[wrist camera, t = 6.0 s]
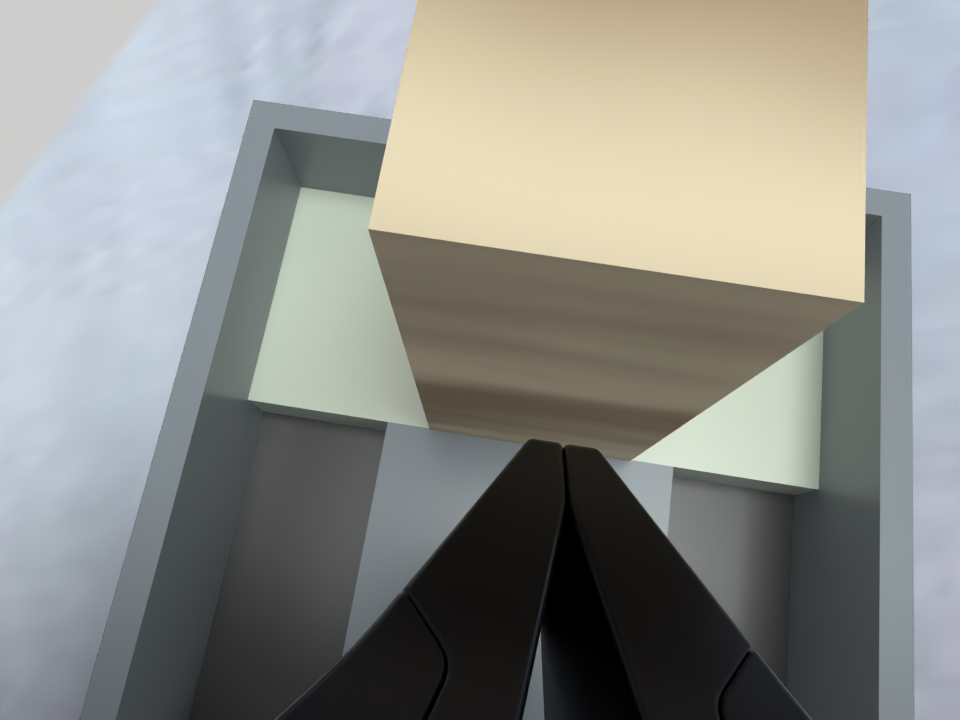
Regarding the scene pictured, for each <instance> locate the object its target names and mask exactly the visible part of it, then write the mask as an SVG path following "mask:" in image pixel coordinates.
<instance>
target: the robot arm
mask: <svg viewBox="0 0 960 720" xmlns="http://www.w3.org/2000/svg"><path fill="white" fill-rule="evenodd" d="M540 632H541V657H542V678H543V699H544V720H812V719H811V717H810V716H809V715H808V714H807V713H806V711H805V710H804V709H803V708H802V707H801V705H800V704H799V703H798V702H797V700H796V699H795V698H794V697H793V696H792V694H791V693H790V692H789V691H788V690H787V688H786V687H785V686H784V685H783V683H782V682H781V681H780V680H779V679H778V677H777V676H776V675H775V673H774V672H773V671H772V670H771V668H770V667H769V666H768V665H767V663H766V662H765V661H764V659H763V658H762V657H761V656H760V654H759V653H758V652H757V651H754V650H753V651H751V650H752V645H751V643H750V642H749V641H748V640H747V638H746V637H745V636H744V634H743V633H742V632H741V631H740V629H739V628H738V627H737V625H736V624H735V623H734V622H733V620H732V619H731V618H730V617H729V615H728V614H727V613H726V611H725V610H724V609H723V608H722V606H721V605H720V604H719V603H718V601H717V600H716V599H715V597H714V596H713V595H712V594H711V592H710V591H709V590H708V589H707V587H706V586H705V585H704V583H703V582H702V581H701V580H700V578H699V577H698V576H697V574H696V573H695V572H694V571H693V569H692V568H691V567H690V566H689V564H688V563H687V562H686V560H685V559H684V558H683V557H682V555H681V554H680V553H679V552H678V550H677V549H676V548H675V546H674V545H673V544H672V543H671V541H670V540H669V539H668V538H667V536H666V535H665V534H664V532H663V531H662V530H661V529H660V527H659V526H658V525H657V523H656V522H655V521H654V520H653V518H652V517H651V516H650V515H649V513H648V512H647V511H646V509H645V508H644V507H643V506H642V504H641V503H640V502H639V501H638V499H637V498H636V497H635V495H634V494H633V493H632V492H631V490H630V489H629V488H628V487H627V485H626V484H625V483H624V481H623V480H622V479H621V478H620V476H619V475H618V474H617V472H616V471H615V470H614V469H613V467H612V466H611V465H610V464H609V462H608V461H607V460H606V458H605V457H604V456H603V455H602V453H601V452H600V451H599V450H597V449H595V448H590V447H584V446H577V445H571V444H568V445H565V446H564V447H562V445H561V444H560V443H557V442H551V441H545V440H539V439H529V440H528V441H527V442H526V443H525V444H524V445H523V446H522V447H521V449H520V450H519V451H518V452H517V453H516V454H515V456H514V457H513V458H512V459H511V460H510V462H509V463H508V464H507V465H506V466H505V468H504V469H503V470H502V471H501V472H500V474H499V475H498V476H497V477H496V478H495V480H494V481H493V482H492V483H491V484H490V486H489V487H488V488H487V489H486V490H485V492H484V493H483V494H482V495H481V496H480V498H479V499H478V500H477V501H476V502H475V504H474V505H473V506H472V507H471V508H470V509H469V511H468V512H467V513H466V514H465V515H464V517H463V518H462V519H461V520H460V521H459V523H458V524H457V525H456V526H455V527H454V529H453V530H452V531H451V532H450V533H449V535H448V536H447V537H446V538H445V539H444V541H443V542H442V543H441V544H440V545H439V547H438V548H437V549H436V550H435V551H434V553H433V554H432V555H431V556H430V557H429V559H428V560H427V561H426V562H425V563H424V564H423V566H422V567H421V568H420V569H419V570H418V572H417V573H416V574H415V575H414V576H413V578H412V579H411V580H410V581H409V582H408V584H407V585H406V586H405V587H404V588H403V591H402V593H399V594H398V595H397V596H396V597H395V599H394V600H393V601H392V602H391V603H390V605H389V606H388V607H387V608H386V609H385V611H384V612H383V613H382V614H381V615H380V617H379V618H378V619H377V620H376V621H375V622H374V623H373V624H372V625H371V626H370V628H369V629H368V630H367V631H366V632H365V633H364V634H363V635H362V636H361V638H360V639H359V640H358V641H357V642H356V643H355V644H354V645H353V646H352V647H351V649H350V650H349V651H348V652H346V653H345V654H344V655H343V656H342V657H341V658H340V659H339V660H338V661H337V662H336V663H335V664H334V665H333V666H332V667H331V668H330V669H329V670H328V671H327V672H326V673H325V674H324V675H322V676H321V677H320V678H319V679H318V680H317V681H316V682H315V683H314V684H313V685H312V686H311V687H310V688H309V689H308V690H307V691H305V692H304V693H303V694H302V695H301V696H300V697H299V698H298V699H297V700H295V701H294V702H293V703H292V704H291V705H290V706H289V707H288V708H287V709H285V710H284V711H283V712H282V713H281V714H280V715H279V716H278V717H277V718H276V719H274V720H522V719H523V714H524V709H525V705H526V700H527V695H528V690H529V685H530V681H531V676H532V671H533V666H534V661H535V656H536V652H537V647H538V642H539V637H540Z"/></svg>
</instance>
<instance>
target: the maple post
mask: <svg viewBox="0 0 960 720" xmlns="http://www.w3.org/2000/svg"><path fill="white" fill-rule="evenodd" d="M867 49H868V0H418V2H417V6H416V11H415V16H414V20H413V25H412V29H411V34H410V39H409V43H408V48H407V52H406V57H405V61H404V66H403V71H402V75H401V80H400V84H399V89H398V94H397V98H396V103H395V107H394V112H393V116H392V121H391V126H390V130H389V135H388V139H387V144H386V149H385V153H384V158H383V162H382V167H381V171H380V176H379V181H378V185H377V190H376V194H375V199H374V204H373V208H372V213H371V217H370V222H369V226H368V231H369V234H370V237H371V240H372V244H373V247H374V250H375V253H376V257H377V260H378V263H379V266H380V270H381V273H382V276H383V279H384V283H385V286H386V289H387V292H388V296H389V299H390V302H391V305H392V309H393V312H394V315H395V318H396V322H397V325H398V328H399V331H400V335H401V338H402V341H403V344H404V348H405V351H406V354H407V358H408V361H409V364H410V367H411V371H412V374H413V377H414V380H415V384H416V387H417V390H418V393H419V397H420V400H421V403H422V406H423V410H424V413H425V416H426V419H427V423H428V426H429V429H431V430H437V431H443V432H450V433H456V434H463V435H469V436H475V437H482V438H488V439H494V440H501V441H507V442H514V443H520V444H525V443H526V442H527V441H528V440H529V439H539V440H545V441H551V442H557V443H560V444H561V445H562V447H564V446H565V445H568V444H571V445H577V446H584V447H590V448H595V449H597V450H599V451H600V452H601V453H602V455H603V456H604V457H609V458H615V459H622V460H628V461H631V460H632V459H634V458H635V457H637V456H638V455H640V454H641V453H643V452H644V451H646V450H647V449H649V448H650V447H652V446H653V445H655V444H656V443H658V442H659V441H661V440H662V439H664V438H665V437H666V436H668V435H669V434H671V433H672V432H674V431H675V430H677V429H678V428H680V427H681V426H683V425H684V424H686V423H687V422H689V421H690V420H692V419H693V418H695V417H696V416H697V415H699V414H700V413H702V412H703V411H705V410H706V409H708V408H709V407H711V406H712V405H714V404H715V403H717V402H718V401H720V400H721V399H723V398H724V397H726V396H727V395H729V394H730V393H731V392H733V391H734V390H736V389H737V388H739V387H740V386H742V385H743V384H745V383H746V382H748V381H749V380H751V379H752V378H754V377H755V376H757V375H758V374H760V373H761V372H763V371H764V370H765V369H767V368H768V367H770V366H771V365H773V364H774V363H776V362H777V361H779V360H780V359H782V358H783V357H785V356H786V355H788V354H789V353H791V352H792V351H794V350H795V349H796V348H798V347H799V346H801V345H802V344H804V343H805V342H807V341H808V340H810V339H811V338H813V337H814V336H816V335H817V334H819V333H820V332H822V331H823V330H825V329H826V328H828V327H829V326H830V325H832V324H833V323H835V322H836V321H838V320H839V319H841V318H842V317H844V316H845V315H847V314H848V313H850V312H851V311H853V310H854V309H856V308H857V307H859V306H860V305H862V304H863V303H864V289H865V209H866V129H867Z"/></svg>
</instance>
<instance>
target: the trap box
mask: <svg viewBox="0 0 960 720" xmlns="http://www.w3.org/2000/svg"><path fill="white" fill-rule="evenodd" d="M391 121H392V120H391V119H384V118H377V117H370V116H363V115H356V114H349V113H342V112H335V111H328V110H321V109H314V108H307V107H300V106H293V105H286V104H279V103H272V102H265V101H258V100H253V103H252V107H251V111H250V114H249V118H248V121H247V125H246V128H245V132H244V135H243V139H242V143H241V146H240V150H239V153H238V157H237V160H236V164H235V168H234V171H233V175H232V178H231V182H230V185H229V189H228V192H227V196H226V200H225V203H224V207H223V210H222V214H221V217H220V221H219V225H218V228H217V232H216V235H215V239H214V242H213V246H212V249H211V253H210V257H209V260H208V264H207V267H206V271H205V274H204V278H203V281H202V285H201V289H200V292H199V296H198V299H197V303H196V306H195V310H194V314H193V317H192V321H191V324H190V328H189V331H188V335H187V338H186V342H185V346H184V349H183V353H182V356H181V360H180V363H179V367H178V371H177V374H176V378H175V381H174V385H173V388H172V392H171V395H170V399H169V403H168V406H167V410H166V413H165V417H164V420H163V424H162V427H161V431H160V435H159V438H158V442H157V445H156V449H155V452H154V456H153V460H152V463H151V467H150V470H149V474H148V477H147V481H146V484H145V488H144V492H143V495H142V499H141V502H140V506H139V509H138V513H137V517H136V520H135V524H134V527H133V531H132V534H131V538H130V541H129V545H128V549H127V552H126V556H125V559H124V563H123V566H122V570H121V573H120V577H119V581H118V584H117V588H116V591H115V595H114V598H113V602H112V606H111V609H110V613H109V616H108V620H107V623H106V627H105V630H104V634H103V638H102V641H101V645H100V648H99V652H98V655H97V659H96V663H95V666H94V670H93V673H92V677H91V680H90V684H89V687H88V691H87V695H86V698H85V702H84V705H83V709H82V712H81V716H80V719H79V720H274V719H276V718H277V717H278V716H279V715H280V714H281V713H282V712H283V711H284V710H285V709H287V708H288V707H289V706H290V705H291V704H292V703H293V702H294V701H295V700H297V699H298V698H299V697H300V696H301V695H302V694H303V693H304V692H305V691H307V690H308V689H309V688H310V687H311V686H312V685H313V684H314V683H315V682H316V681H317V680H318V679H319V678H320V677H321V676H322V675H324V674H325V673H326V672H327V671H328V670H329V669H330V668H331V667H332V666H333V665H334V664H335V663H336V662H337V661H338V660H339V659H340V658H341V657H342V656H343V655H344V654H345V653H346V652H348V651H349V650H350V649H351V647H352V646H353V645H354V644H355V643H356V642H357V641H358V640H359V639H360V638H361V636H362V635H363V634H364V633H365V632H366V631H367V630H368V629H369V628H370V626H371V625H372V624H373V623H374V622H375V621H376V620H377V619H378V618H379V617H380V615H381V614H382V613H383V612H384V611H385V609H386V608H387V607H388V606H389V605H390V603H391V602H392V601H393V600H394V599H395V597H396V596H397V595H398V594H399V593H402V591H403V588H404V587H405V586H406V585H407V584H408V582H409V581H410V580H411V579H412V578H413V576H414V575H415V574H416V573H417V572H418V570H419V569H420V568H421V567H422V566H423V564H424V563H425V562H426V561H427V560H428V559H429V557H430V556H431V555H432V554H433V553H434V551H435V550H436V549H437V548H438V547H439V545H440V544H441V543H442V542H443V541H444V539H445V538H446V537H447V536H448V535H449V533H450V532H451V531H452V530H453V529H454V527H455V526H456V525H457V524H458V523H459V521H460V520H461V519H462V518H463V517H464V515H465V514H466V513H467V512H468V511H469V509H470V508H471V507H472V506H473V505H474V504H475V502H476V501H477V500H478V499H479V498H480V496H481V495H482V494H483V493H484V492H485V490H486V489H487V488H488V487H489V486H490V484H491V483H492V482H493V481H494V480H495V478H496V477H497V476H498V475H499V474H500V472H501V471H502V470H503V469H504V468H505V466H506V465H507V464H508V463H509V462H510V460H511V459H512V458H513V457H514V456H515V454H516V453H517V452H518V451H519V450H520V449H521V447H522V446H523V445H524V444H520V443H514V442H507V441H501V440H494V439H488V438H482V437H475V436H469V435H463V434H456V433H450V432H443V431H437V430H431V429H429V426H428V423H427V419H426V416H425V413H424V410H423V406H422V403H421V400H420V397H419V393H418V390H417V387H416V384H415V380H414V377H413V374H412V371H411V367H410V364H409V361H408V358H407V354H406V351H405V348H404V344H403V341H402V338H401V335H400V331H399V328H398V325H397V322H396V318H395V315H394V312H393V309H392V305H391V302H390V299H389V296H388V292H387V289H386V286H385V283H384V279H383V276H382V273H381V270H380V266H379V263H378V260H377V257H376V253H375V250H374V247H373V244H372V240H371V237H370V234H369V231H368V226H369V222H370V217H371V213H372V208H373V204H374V199H375V194H376V190H377V185H378V181H379V176H380V171H381V167H382V162H383V158H384V153H385V149H386V144H387V139H388V135H389V130H390V126H391ZM605 458H606V460H607V461H608V462H609V464H610V465H611V466H612V467H613V469H614V470H615V471H616V472H617V474H618V475H619V476H620V478H621V479H622V480H623V481H624V483H625V484H626V485H627V487H628V488H629V489H630V490H631V492H632V493H633V494H634V495H635V497H636V498H637V499H638V501H639V502H640V503H641V504H642V506H643V507H644V508H645V509H646V511H647V512H648V513H649V515H650V516H651V517H652V518H653V520H654V521H655V522H656V523H657V525H658V526H659V527H660V529H661V530H662V531H663V532H664V534H665V535H666V536H667V538H668V539H669V540H670V541H671V543H672V544H673V545H674V546H675V548H676V549H677V550H678V552H679V553H680V554H681V555H682V557H683V558H684V559H685V560H686V562H687V563H688V564H689V566H690V567H691V568H692V569H693V571H694V572H695V573H696V574H697V576H698V577H699V578H700V580H701V581H702V582H703V583H704V585H705V586H706V587H707V589H708V590H709V591H710V592H711V594H712V595H713V596H714V597H715V599H716V600H717V601H718V603H719V604H720V605H721V606H722V608H723V609H724V610H725V611H726V613H727V614H728V615H729V617H730V618H731V619H732V620H733V622H734V623H735V624H736V625H737V627H738V628H739V629H740V631H741V632H742V633H743V634H744V636H745V637H746V638H747V640H748V641H749V642H750V643H751V645H752V650H751V651H753V650H754V651H757V652H758V653H759V654H760V656H761V657H762V658H763V659H764V661H765V662H766V663H767V665H768V666H769V667H770V668H771V670H772V671H773V672H774V673H775V675H776V676H777V677H778V679H779V680H780V681H781V682H782V683H783V685H784V686H785V687H786V688H787V690H788V691H789V692H790V693H791V694H792V696H793V697H794V698H795V699H796V700H797V702H798V703H799V704H800V705H801V707H802V708H803V709H804V710H805V711H806V713H807V714H808V715H809V716H810V717H811V719H812V720H914V598H913V437H912V277H911V194H906V193H900V192H893V191H886V190H879V189H872V188H866V209H865V289H864V303H863V304H862V305H860V306H859V307H857V308H856V309H854V310H853V311H851V312H850V313H848V314H847V315H845V316H844V317H842V318H841V319H839V320H838V321H836V322H835V323H833V324H832V325H830V326H829V327H828V328H826V329H825V330H823V331H822V332H820V333H819V334H817V335H816V336H814V337H813V338H811V339H810V340H808V341H807V342H805V343H804V344H802V345H801V346H799V347H798V348H796V349H795V350H794V351H792V352H791V353H789V354H788V355H786V356H785V357H783V358H782V359H780V360H779V361H777V362H776V363H774V364H773V365H771V366H770V367H768V368H767V369H765V370H764V371H763V372H761V373H760V374H758V375H757V376H755V377H754V378H752V379H751V380H749V381H748V382H746V383H745V384H743V385H742V386H740V387H739V388H737V389H736V390H734V391H733V392H731V393H730V394H729V395H727V396H726V397H724V398H723V399H721V400H720V401H718V402H717V403H715V404H714V405H712V406H711V407H709V408H708V409H706V410H705V411H703V412H702V413H700V414H699V415H697V416H696V417H695V418H693V419H692V420H690V421H689V422H687V423H686V424H684V425H683V426H681V427H680V428H678V429H677V430H675V431H674V432H672V433H671V434H669V435H668V436H666V437H665V438H664V439H662V440H661V441H659V442H658V443H656V444H655V445H653V446H652V447H650V448H649V449H647V450H646V451H644V452H643V453H641V454H640V455H638V456H637V457H635V458H634V459H632V460H631V461H628V460H622V459H615V458H609V457H605ZM522 720H544V699H543V678H542V657H541V632H540V637H539V642H538V647H537V652H536V656H535V661H534V666H533V671H532V676H531V681H530V685H529V690H528V695H527V700H526V705H525V709H524V714H523V719H522Z"/></svg>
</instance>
